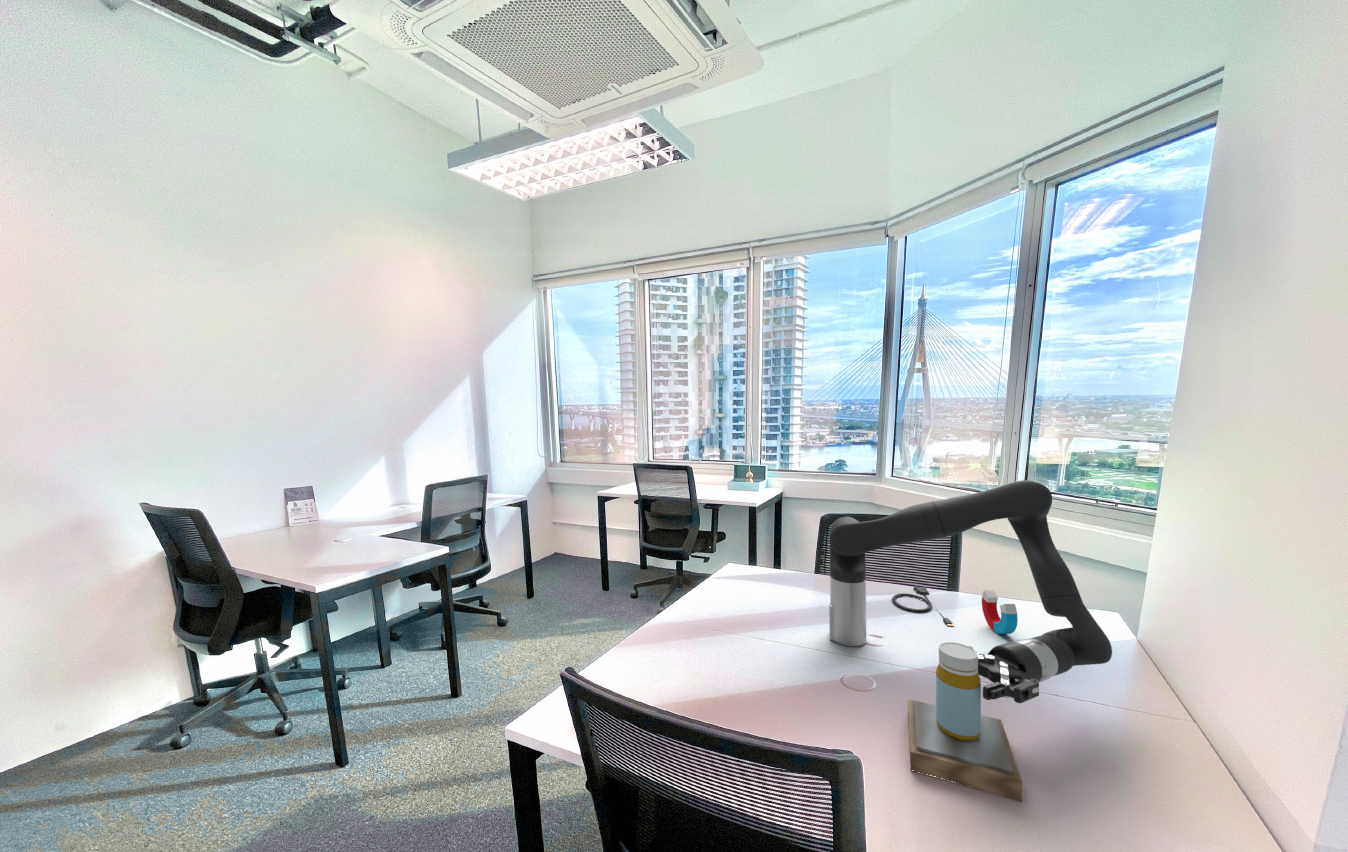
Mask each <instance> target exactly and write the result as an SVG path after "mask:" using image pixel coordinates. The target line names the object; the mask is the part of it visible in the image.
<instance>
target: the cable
mask: <svg viewBox="0 0 1348 852" xmlns="http://www.w3.org/2000/svg"><path fill="white" fill-rule="evenodd" d="M913 590H914V591H916V592H915V593H916V594H913V593H907V592H905V593H903V592H901V593H897V594H895V595H894V596H892V598H891V601H892V603H893V604H894V605H895V606H897V607H898V608H901V609H902V610H905V611H908V612H912V613H927V612H929V611H931V610H932V608H933V607H932V602H931V601H930V599H929V598H928V596H927V595H930V593H929V592H930V591H928V589H927V587H926V586H914V585H913ZM921 595H922V596H923V595H924V596H923V597H922V596H921ZM903 596H909V597H908V598H913V597H915V598H914V599H917V598H919V599H918V600H920V599H922V600H923V601H922V600H921V601H922V602H924V601H925V602H926V603H925V602H924V603H925V604H926V605H927V604H928V605H927V607H925V608H911V607H907V606H904V605H903V604H901V603H899V602H897V599H898V598H904V597H903ZM930 609H931V610H930ZM937 612H939V613H938V614H939V615H940V616H941V617H942V622H943V623H944V625H946V627H951V628H953V627H954V623H953V622H952V620H951V619H949V618H947V617H944V616H943V614H942V613H941V612H940V611H939V610H937Z"/></svg>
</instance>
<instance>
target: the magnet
mask: <svg viewBox="0 0 1348 852" xmlns="http://www.w3.org/2000/svg"><path fill="white" fill-rule="evenodd" d="M998 599H999V597H998V595H997V594H996V592H995V590H993V589H984V590H983V592H982V595H981V608H982V613H983V617H984V620H985V622H986V623H987V625H988V626H989V628H990V629H991V630H992V631H993V632H994V633H996V634H1000V635H1011V634H1013V633H1014V632H1015V631H1016V629H1017V626H1018V621H1019V619H1018V612H1017V611H1018V610H1017V606H1016V604H1015V603H1003V604H1000V605H999V609H1000V615H999V611H998V606H997V605H998Z"/></svg>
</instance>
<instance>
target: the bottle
mask: <svg viewBox="0 0 1348 852" xmlns="http://www.w3.org/2000/svg"><path fill="white" fill-rule="evenodd" d="M968 646H969V645H965V644H963V643H960V642H953V641H952V642H951V641H947V642H946V641H945V642H941V643H940V644H939V646H938V665H937V667H936V669H935V670H936V673H935V678H936V679H935V686H936V687H935V688H936V689H935V702H936V704H935V705H936V722H937V724H938V726H939V727H940V728H941V730H942V731H943V732H944V733H946V734H947V735H949V736H950V737H952V738H955V739H958V740H961V741H973V740H975V739H977V738H978V737H979V736H980V731H981V714H982V713H981V712H982V711H981V709H982V705H981V704H982V703H981V702H982V701H981V699H982V698H981V697H982V696H981V695H982V694H981V693H982V690H981V687H982V685H981V683H982V682H981V676H980V675H979V674H978V655H979V653H977V651H976V650H975V649H974V648H973V649H972V648H970V647H968Z"/></svg>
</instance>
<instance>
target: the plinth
mask: <svg viewBox="0 0 1348 852" xmlns="http://www.w3.org/2000/svg"><path fill="white" fill-rule="evenodd" d="M907 721H908V722H907V723H908V726H907V727H908V745H909V762H910V767H911V768H910V771H911V770H914V771H916V772H920V773H923V774H928V775H932V776H936V777H938V778H943V779H945V780H949V781H953V782H956V783H959V784H962V785H961V786H963V785H967V786H970V787H973V788H972V789H974V788H976V789H975V790H977V789H979V790H978V791H981V790H982V792H985V791H986V793H988V792H990V793H989V794H992V793H993V795H995V794H997V795H996V796H999V795H1001V796H1000V797H1003V796H1004V797H1003V798H1006V797H1007V799H1010V800H1013V801H1019V802H1021V803H1022V802H1023V796H1022V795H1023V780H1022V777H1021V775H1020V771H1019V768H1018V765H1017V762H1016V759H1015V757H1014V753H1013V750H1012V747H1011V744H1010V742H1009V739H1008V735H1007V733H1006V729H1005V727H1004V724H1003V721H1002V719H1000V718H996V717H991V716H987V715H981V731H980V736H979V737H978V738H977V739H975V740H973V741H961V740H958V739H955V738H952V737H950V736H949V735H947V734H946V733H944V732H943V731H942V730H941V728H940V727H939V726H938V724H937V722H936V704H931V703H927V702H923V701H918V700H913V699H907ZM916 772H915V773H916ZM920 773H919V774H920ZM923 774H922V775H923ZM938 778H937V779H938ZM945 780H944V781H945ZM949 781H948V782H949ZM956 783H955V784H956ZM959 784H958V785H959ZM967 786H966V787H967ZM970 787H969V788H970Z"/></svg>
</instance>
